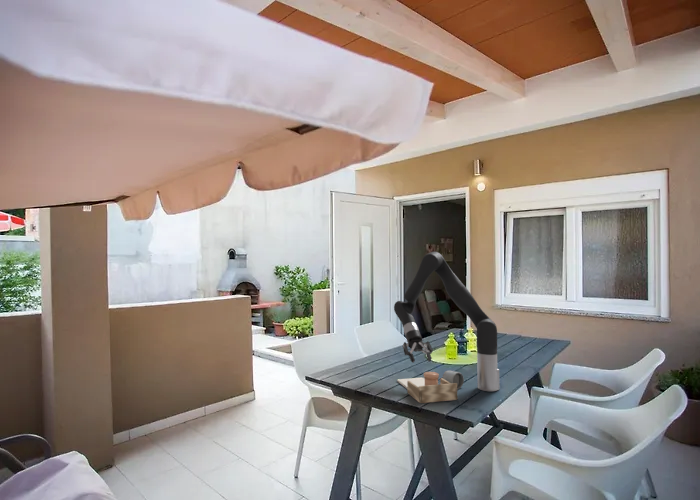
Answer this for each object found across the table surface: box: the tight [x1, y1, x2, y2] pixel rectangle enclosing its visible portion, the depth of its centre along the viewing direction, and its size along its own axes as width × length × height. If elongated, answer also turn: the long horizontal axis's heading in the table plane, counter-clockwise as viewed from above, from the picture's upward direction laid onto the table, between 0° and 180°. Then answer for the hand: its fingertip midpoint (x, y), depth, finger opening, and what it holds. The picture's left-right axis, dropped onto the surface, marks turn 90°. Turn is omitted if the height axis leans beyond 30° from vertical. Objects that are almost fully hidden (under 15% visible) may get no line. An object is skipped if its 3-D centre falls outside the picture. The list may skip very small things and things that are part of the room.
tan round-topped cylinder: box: [423, 371, 440, 386], centre depth 180 cm, size 7×7×10 cm
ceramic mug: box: [442, 370, 465, 390], centre depth 193 cm, size 11×8×8 cm
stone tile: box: [397, 376, 425, 390], centre depth 197 cm, size 14×14×1 cm
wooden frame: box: [406, 377, 458, 404], centre depth 180 cm, size 18×14×7 cm
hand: (421, 361), depth 190 cm, fingers open, 8 cm apart
